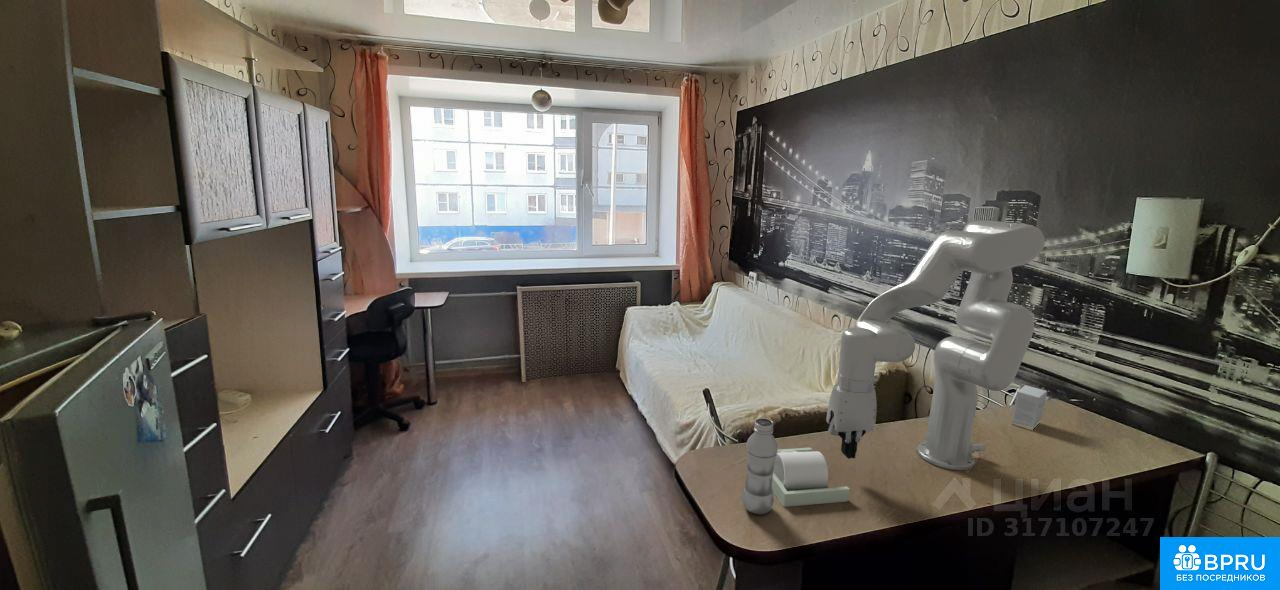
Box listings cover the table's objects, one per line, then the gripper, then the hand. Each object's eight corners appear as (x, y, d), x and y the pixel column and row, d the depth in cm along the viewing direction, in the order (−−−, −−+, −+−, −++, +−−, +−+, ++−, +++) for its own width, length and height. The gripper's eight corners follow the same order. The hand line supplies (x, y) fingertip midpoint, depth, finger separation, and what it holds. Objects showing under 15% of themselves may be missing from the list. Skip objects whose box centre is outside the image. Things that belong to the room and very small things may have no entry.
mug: (826, 495, 117) (830, 463, 115) (783, 497, 115) (786, 464, 114) (804, 466, 128) (807, 436, 126) (764, 467, 127) (767, 437, 125)
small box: (1018, 417, 158) (1024, 384, 156) (1040, 423, 154) (1047, 390, 152) (1010, 424, 153) (1016, 391, 151) (1033, 431, 149) (1040, 397, 146)
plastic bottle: (778, 508, 111) (786, 421, 107) (762, 523, 106) (770, 433, 102) (751, 495, 116) (758, 412, 111) (735, 509, 111) (741, 422, 106)
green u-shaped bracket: (809, 458, 132) (810, 447, 131) (848, 501, 114) (849, 489, 114) (752, 462, 129) (753, 451, 129) (783, 506, 112) (784, 494, 111)
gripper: (875, 374, 123) (868, 444, 128) (816, 378, 121) (810, 450, 125) (895, 386, 116) (887, 461, 120) (833, 391, 114) (826, 467, 118)
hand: (848, 455), depth 123 cm, fingers closed
